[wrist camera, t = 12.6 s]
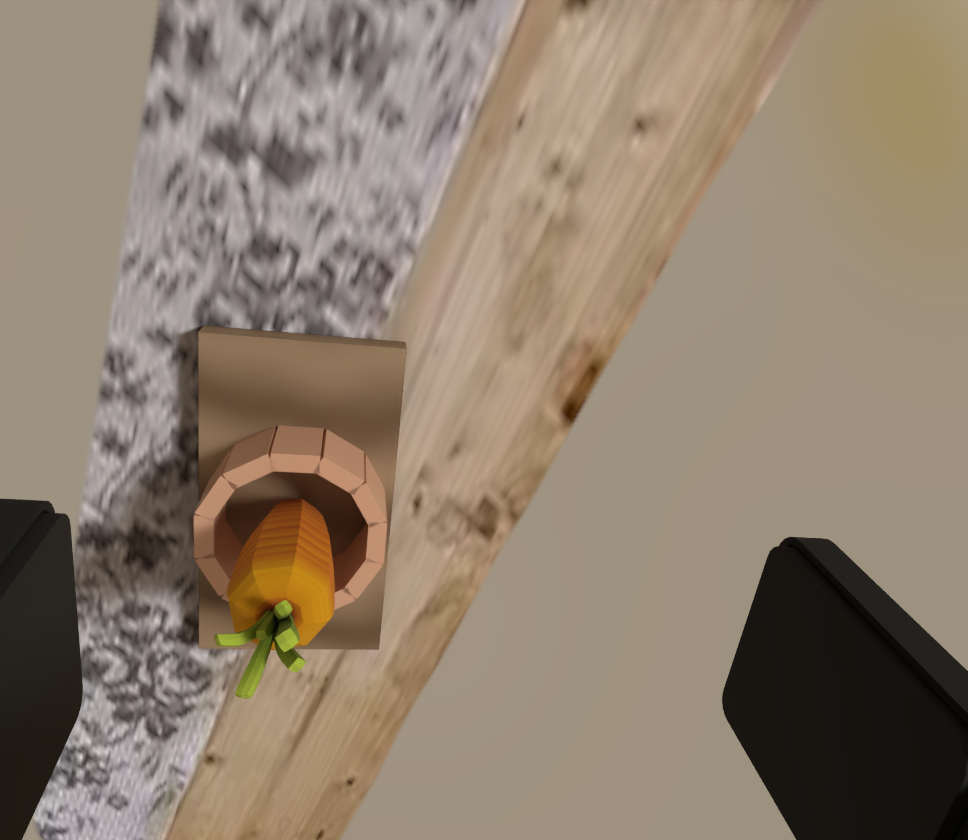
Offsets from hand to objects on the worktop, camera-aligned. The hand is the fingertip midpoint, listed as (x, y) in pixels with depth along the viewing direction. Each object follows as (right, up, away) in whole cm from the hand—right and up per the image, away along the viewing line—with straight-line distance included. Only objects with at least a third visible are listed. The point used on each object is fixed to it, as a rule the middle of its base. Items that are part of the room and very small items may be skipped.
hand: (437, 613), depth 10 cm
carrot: (-10, -2, +34) cm, 36 cm away
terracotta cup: (-10, -2, +34) cm, 36 cm away
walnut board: (-11, -2, +35) cm, 37 cm away
